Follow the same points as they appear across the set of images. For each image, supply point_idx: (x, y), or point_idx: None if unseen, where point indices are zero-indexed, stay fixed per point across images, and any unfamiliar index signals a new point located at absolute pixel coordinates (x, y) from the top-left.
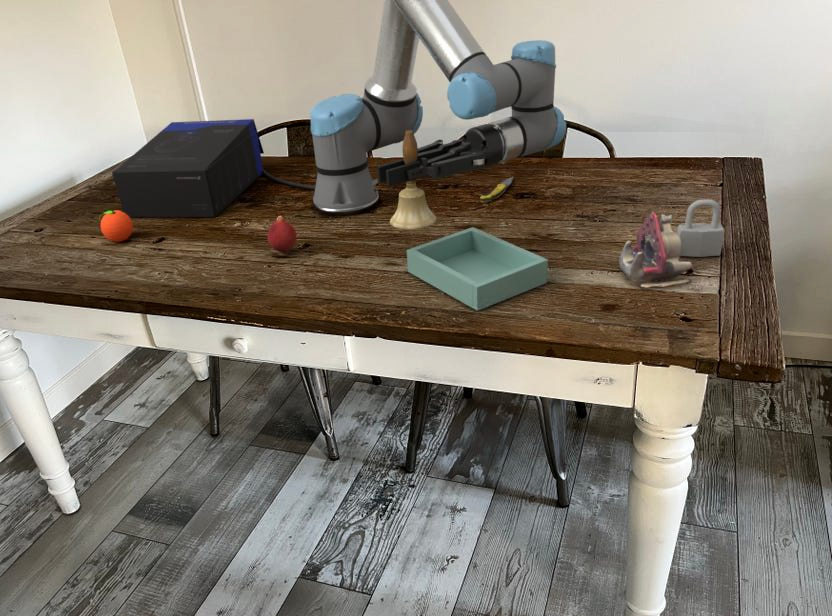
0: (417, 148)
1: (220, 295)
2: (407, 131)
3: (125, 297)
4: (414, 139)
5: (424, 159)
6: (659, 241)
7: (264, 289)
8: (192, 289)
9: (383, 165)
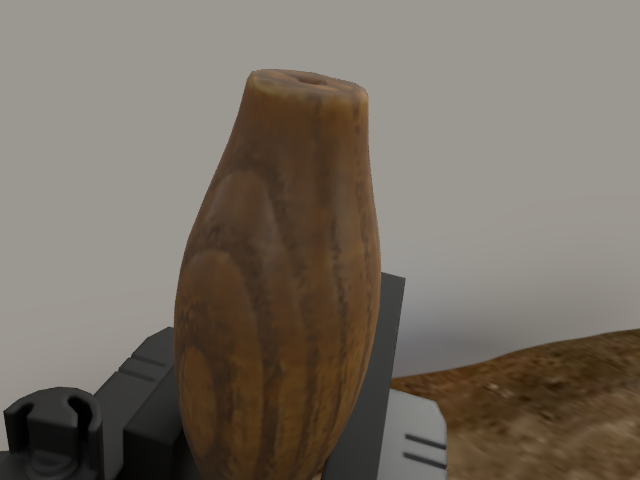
0: (178, 333)
1: (541, 387)
2: (322, 77)
3: (630, 332)
4: (209, 192)
5: (47, 394)
6: None
7: (511, 439)
8: (605, 383)
9: (386, 297)
